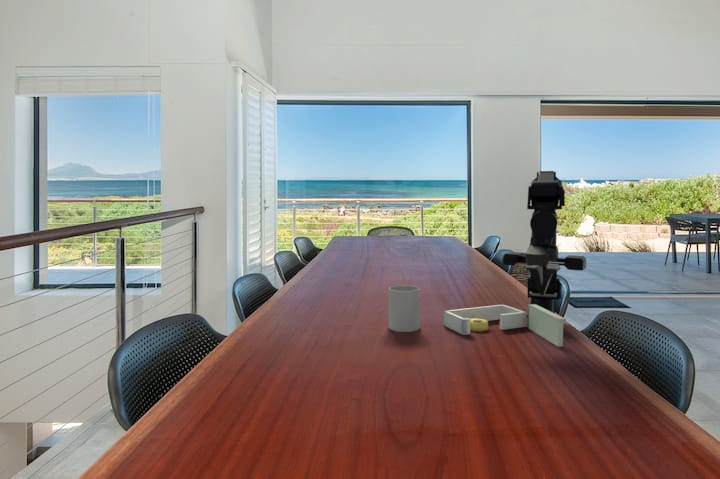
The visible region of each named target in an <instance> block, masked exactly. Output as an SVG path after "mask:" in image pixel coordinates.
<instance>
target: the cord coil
mask: <svg viewBox="0 0 720 479" xmlns="http://www.w3.org/2000/svg"><path fill="white" fill-rule="evenodd" d="M488 330H489V321H487V320H484V319H477V318H474V319H470V332H471V331H472V332H486V331H488Z"/></svg>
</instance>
